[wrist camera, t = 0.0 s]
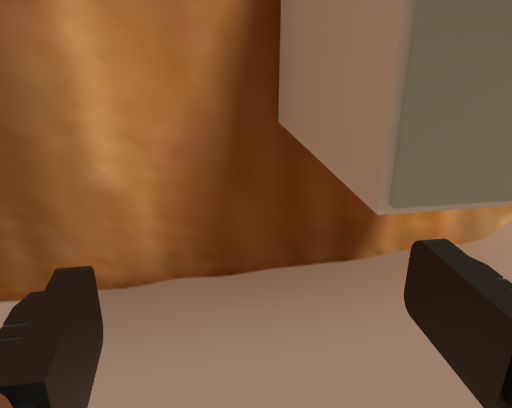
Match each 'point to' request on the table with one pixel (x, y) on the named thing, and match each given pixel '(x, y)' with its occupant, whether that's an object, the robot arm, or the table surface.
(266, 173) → the table surface
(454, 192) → the stepped stand
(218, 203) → the table surface
